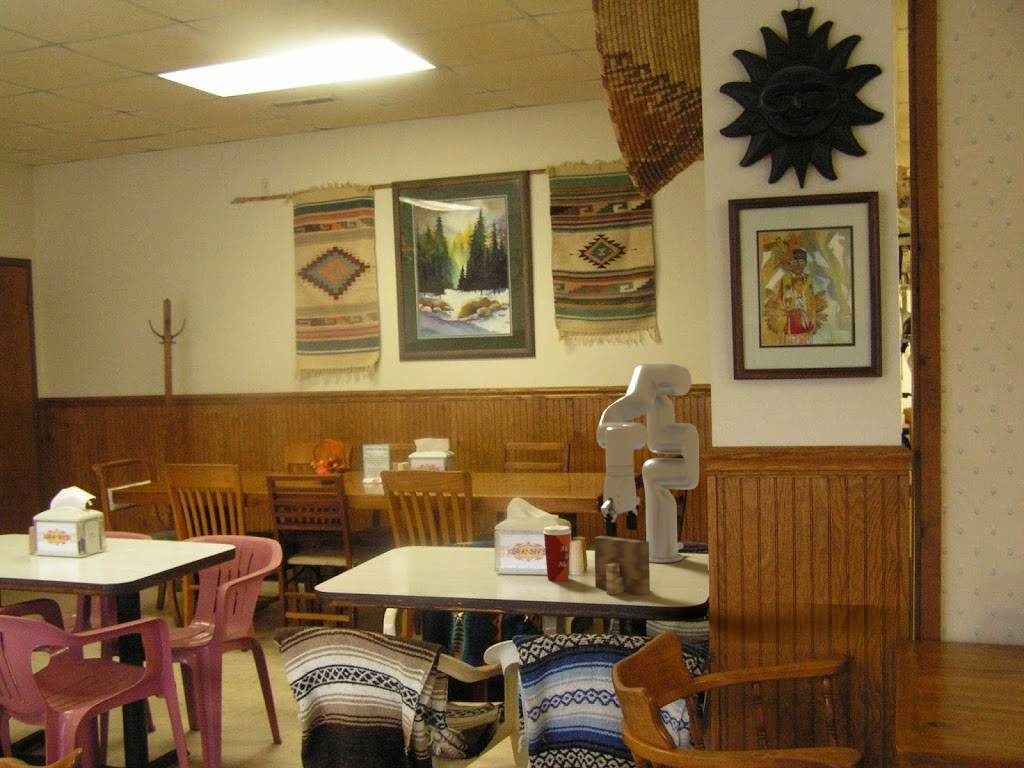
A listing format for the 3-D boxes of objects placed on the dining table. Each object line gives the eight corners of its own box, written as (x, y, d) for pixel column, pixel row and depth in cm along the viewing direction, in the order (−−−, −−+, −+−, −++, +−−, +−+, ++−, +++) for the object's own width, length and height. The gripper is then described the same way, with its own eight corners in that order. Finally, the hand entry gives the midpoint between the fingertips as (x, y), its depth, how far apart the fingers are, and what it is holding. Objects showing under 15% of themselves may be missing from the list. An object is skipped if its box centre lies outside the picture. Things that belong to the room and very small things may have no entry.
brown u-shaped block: (631, 585, 295) (630, 557, 294) (637, 586, 293) (636, 558, 293) (606, 594, 285) (606, 564, 285) (612, 595, 284) (612, 565, 284)
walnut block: (595, 587, 294) (594, 537, 293) (601, 585, 296) (600, 535, 295) (643, 595, 283) (642, 543, 283) (649, 593, 286) (648, 541, 285)
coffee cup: (570, 582, 300) (568, 530, 300) (541, 582, 302) (540, 529, 301) (574, 576, 308) (573, 525, 308) (546, 575, 310) (545, 524, 309)
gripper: (626, 466, 297) (628, 526, 298) (590, 474, 284) (592, 537, 285) (648, 467, 292) (650, 528, 294) (613, 476, 279) (615, 540, 280)
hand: (621, 532), depth 289 cm, fingers open, 9 cm apart
